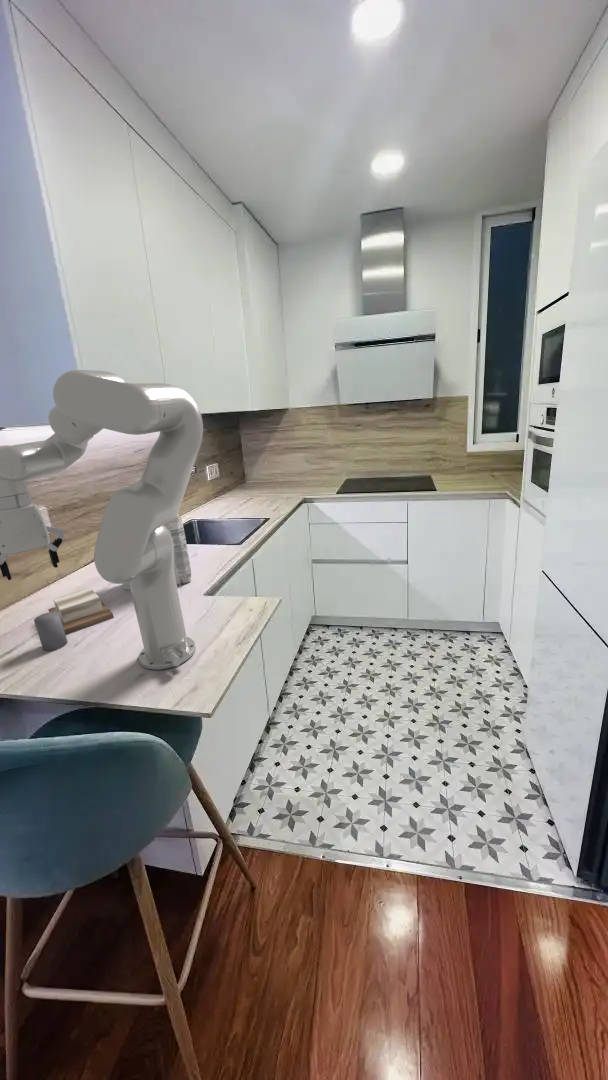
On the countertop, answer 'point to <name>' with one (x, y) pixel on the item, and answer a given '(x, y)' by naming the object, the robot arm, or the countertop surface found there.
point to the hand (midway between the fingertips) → (32, 572)
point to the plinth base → (86, 619)
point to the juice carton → (179, 551)
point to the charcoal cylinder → (50, 631)
